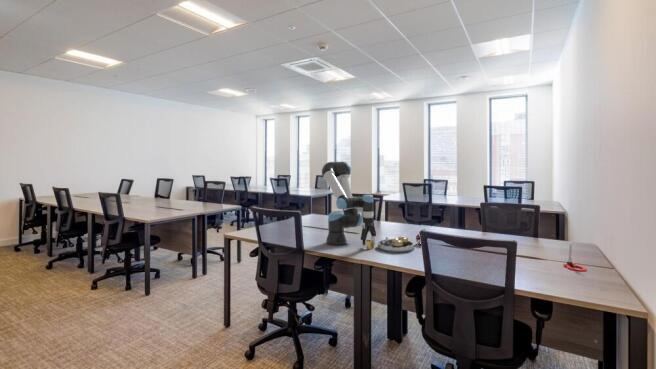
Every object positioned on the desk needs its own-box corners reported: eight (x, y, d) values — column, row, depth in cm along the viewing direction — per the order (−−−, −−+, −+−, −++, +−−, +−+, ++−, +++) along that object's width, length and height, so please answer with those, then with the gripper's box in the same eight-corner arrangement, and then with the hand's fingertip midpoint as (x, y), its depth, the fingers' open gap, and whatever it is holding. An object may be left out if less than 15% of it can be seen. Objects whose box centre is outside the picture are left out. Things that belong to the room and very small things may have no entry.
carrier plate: (372, 250, 221) (372, 239, 221) (386, 242, 242) (386, 232, 241) (407, 254, 208) (407, 243, 208) (418, 246, 229) (418, 236, 228)
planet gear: (361, 248, 226) (361, 241, 226) (366, 246, 233) (366, 239, 232) (371, 249, 223) (371, 242, 222) (375, 247, 229) (375, 240, 228)
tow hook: (590, 271, 172) (574, 265, 181) (592, 248, 170) (576, 243, 179) (576, 272, 171) (561, 266, 180) (577, 248, 169) (562, 243, 178)
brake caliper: (430, 238, 240) (432, 228, 232) (432, 250, 232) (434, 240, 224) (414, 238, 241) (415, 228, 234) (416, 250, 233) (417, 240, 225)
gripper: (365, 220, 214) (365, 251, 215) (380, 215, 235) (381, 244, 236) (355, 219, 218) (355, 250, 219) (371, 214, 239) (371, 242, 240)
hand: (368, 247), depth 227 cm, fingers open, 13 cm apart
